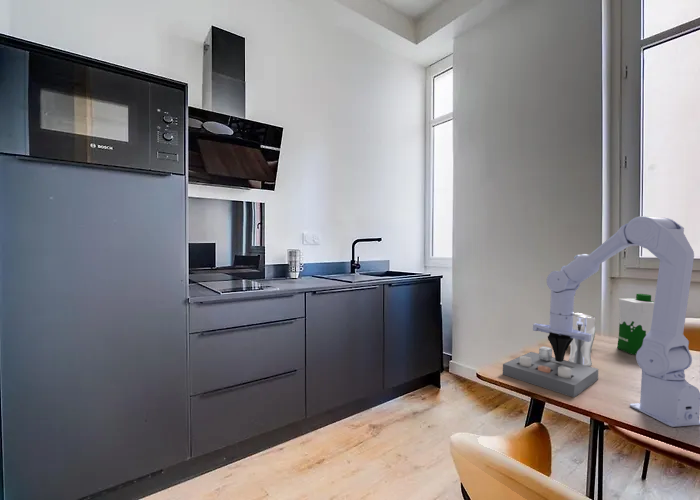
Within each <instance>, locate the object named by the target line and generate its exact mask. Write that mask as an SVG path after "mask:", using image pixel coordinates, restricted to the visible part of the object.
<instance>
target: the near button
mask: <svg viewBox="0 0 700 500" xmlns="http://www.w3.org/2000/svg"><path fill="white" fill-rule="evenodd" d="M558 376H560V377H563V378H567V379H571V369H570V368H568V367H562V366H560V367H558Z"/></svg>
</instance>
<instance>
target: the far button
mask: <svg viewBox="0 0 700 500" xmlns="http://www.w3.org/2000/svg"><path fill="white" fill-rule="evenodd" d="M519 357H520V365H522V366H525V367H531V363H532V359H531V358H530V357H526V356H522V355H520V356H519Z"/></svg>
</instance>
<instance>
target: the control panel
mask: <svg viewBox="0 0 700 500" xmlns="http://www.w3.org/2000/svg"><path fill="white" fill-rule="evenodd" d="M521 356H526V357H530V358H531V359H532V363H531V367H525V366H522V365H520V356H518V357H516V358H513V359H511V360H509V361H506V362H505V363H502V375H503V376H507V377H509V378H512V379H515V380H518V381H522V382H524V383H528V384H531V385H534V386H536V387H540V388H544V389H546V390H550V391H551V392H552V391H553V392H556V393H559V394H562V395H565V396H569V397H570V398H575V397H577V396H578V395H580V394H581V393H582V392H583V391H585V390H586V389H587V388H589V387H590V386H592V385H593V384H595V383H596V382H597V381H598V380H599V368H595V367H593V366H585V365H581V364H577V363H573V362H570V361H569V360H565V359H564V360H563V361H562V362H558V361H556V360H555V356H554V357H553V356H552V359H551V360H549V361H545V360H541V359H539V352H535V351H534V352H533V351H529V352H526V353H525V354H522V355H521ZM540 365H542V366H547V367H550V368H551V370H550V373H546V372H543V371H539V370H538V366H540ZM560 366H562V367H568V368H570V369H571V379H567V378H563V377H560V376H558V367H560Z"/></svg>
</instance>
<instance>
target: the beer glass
mask: <svg viewBox="0 0 700 500" xmlns="http://www.w3.org/2000/svg"><path fill="white" fill-rule="evenodd" d="M573 329H574V330H577V331H581V332H585V333H589V334H591V341H590V342H586V341H584V340H579V339H574V338H573V340H572V342H571V343H570V345H569V347H570V352H569V353H570V354H569V357H568V361H570V362H573V363H577V364H581V365H585V366H589V367H592V364H593V363H592V362H593V361H592V356H591V355H592V350H593V349H592V348H593V345H594V341H595V337H596V316H594V315H591V314H588V313H581V312H580V313H579V312H573Z"/></svg>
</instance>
